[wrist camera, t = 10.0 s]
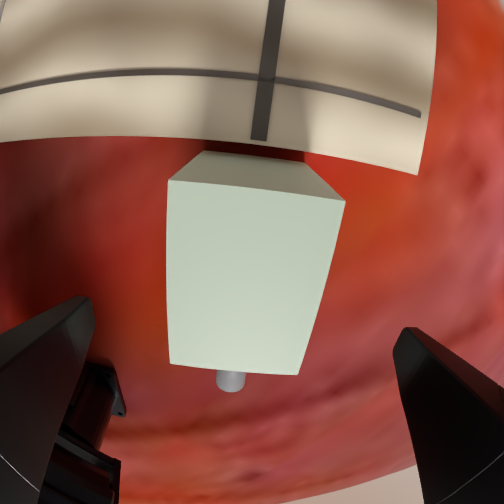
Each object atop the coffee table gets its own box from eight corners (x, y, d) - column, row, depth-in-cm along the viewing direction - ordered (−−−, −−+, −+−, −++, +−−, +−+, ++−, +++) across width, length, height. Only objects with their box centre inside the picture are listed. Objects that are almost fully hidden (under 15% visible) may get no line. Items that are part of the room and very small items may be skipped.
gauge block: (273, 324, 19) (282, 416, 13) (193, 316, 19) (173, 406, 12) (304, 162, 15) (345, 201, 8) (203, 150, 14) (168, 179, 8)
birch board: (404, 169, 15) (418, 175, 13) (-25, 143, 13) (-40, 148, 12) (423, 6, 10) (437, 0, 9) (-9, 8, 9) (-23, 6, 7)
